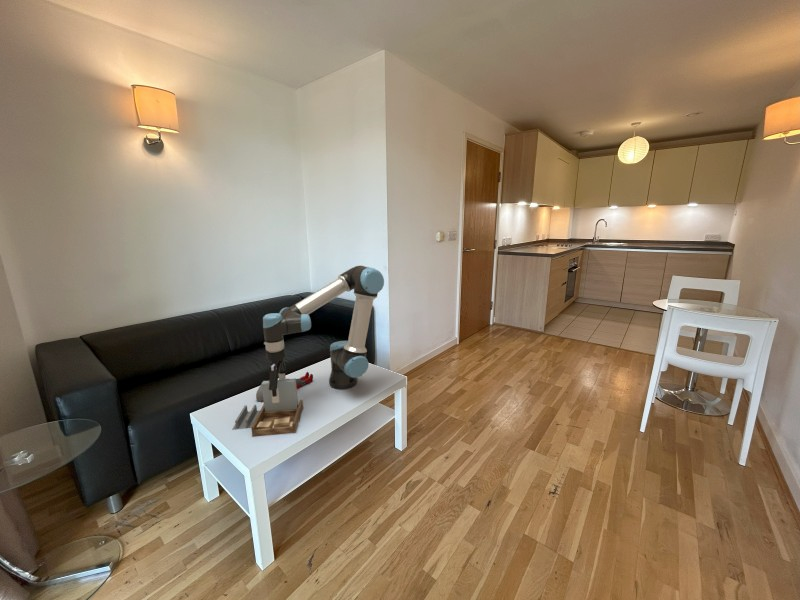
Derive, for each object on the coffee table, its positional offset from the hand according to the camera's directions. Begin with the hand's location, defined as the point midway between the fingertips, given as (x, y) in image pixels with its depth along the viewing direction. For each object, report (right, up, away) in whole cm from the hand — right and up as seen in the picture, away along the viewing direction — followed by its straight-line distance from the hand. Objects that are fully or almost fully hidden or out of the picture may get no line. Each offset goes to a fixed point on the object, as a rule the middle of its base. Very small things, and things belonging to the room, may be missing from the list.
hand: (279, 394), depth 145 cm
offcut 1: (-3, -12, -9) cm, 16 cm away
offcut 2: (+4, -10, -9) cm, 14 cm away
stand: (-14, -12, -1) cm, 18 cm away
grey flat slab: (0, -9, +2) cm, 10 cm away
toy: (-6, -6, +25) cm, 26 cm away
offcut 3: (+5, -12, -9) cm, 16 cm away
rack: (+1, -12, -3) cm, 12 cm away
